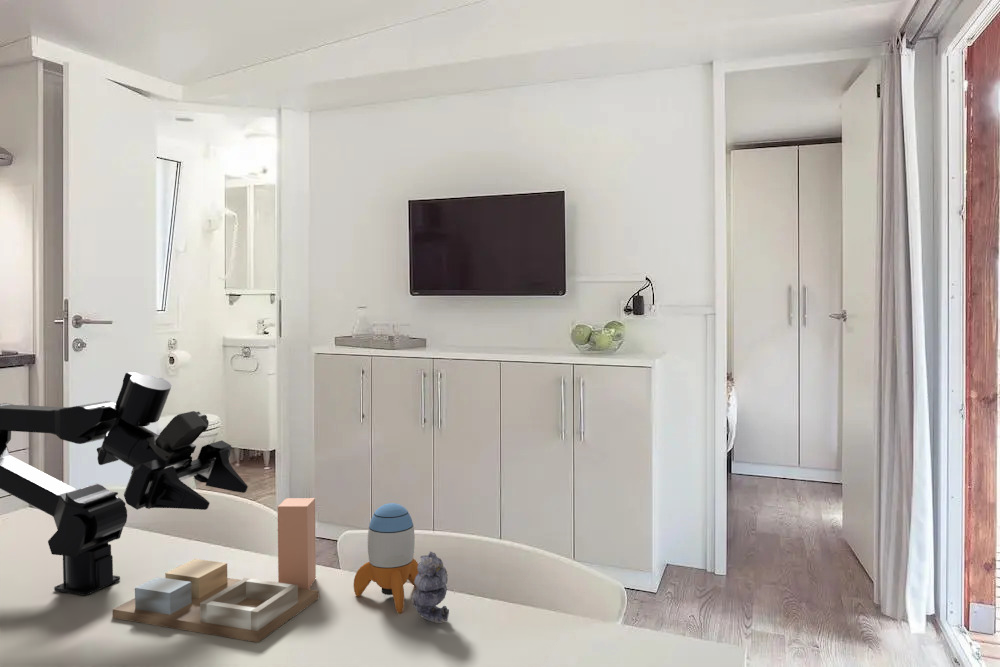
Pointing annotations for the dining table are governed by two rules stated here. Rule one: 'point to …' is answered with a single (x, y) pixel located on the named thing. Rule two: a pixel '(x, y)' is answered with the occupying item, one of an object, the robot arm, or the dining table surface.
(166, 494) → the robot arm
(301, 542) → the post
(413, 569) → the toy rocket
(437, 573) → the seashell
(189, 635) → the dining table surface
